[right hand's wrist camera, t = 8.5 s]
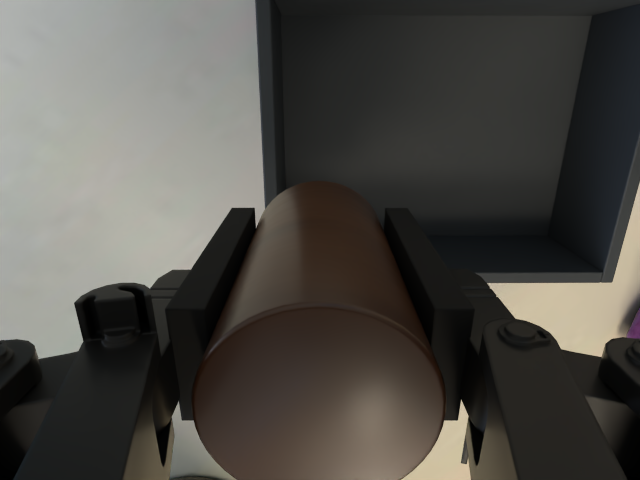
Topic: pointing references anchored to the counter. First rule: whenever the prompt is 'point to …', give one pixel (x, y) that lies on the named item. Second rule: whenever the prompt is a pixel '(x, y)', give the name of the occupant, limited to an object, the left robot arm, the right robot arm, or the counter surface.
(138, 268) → the counter surface
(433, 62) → the bin
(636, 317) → the figurine
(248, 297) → the walnut peg
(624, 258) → the counter surface
